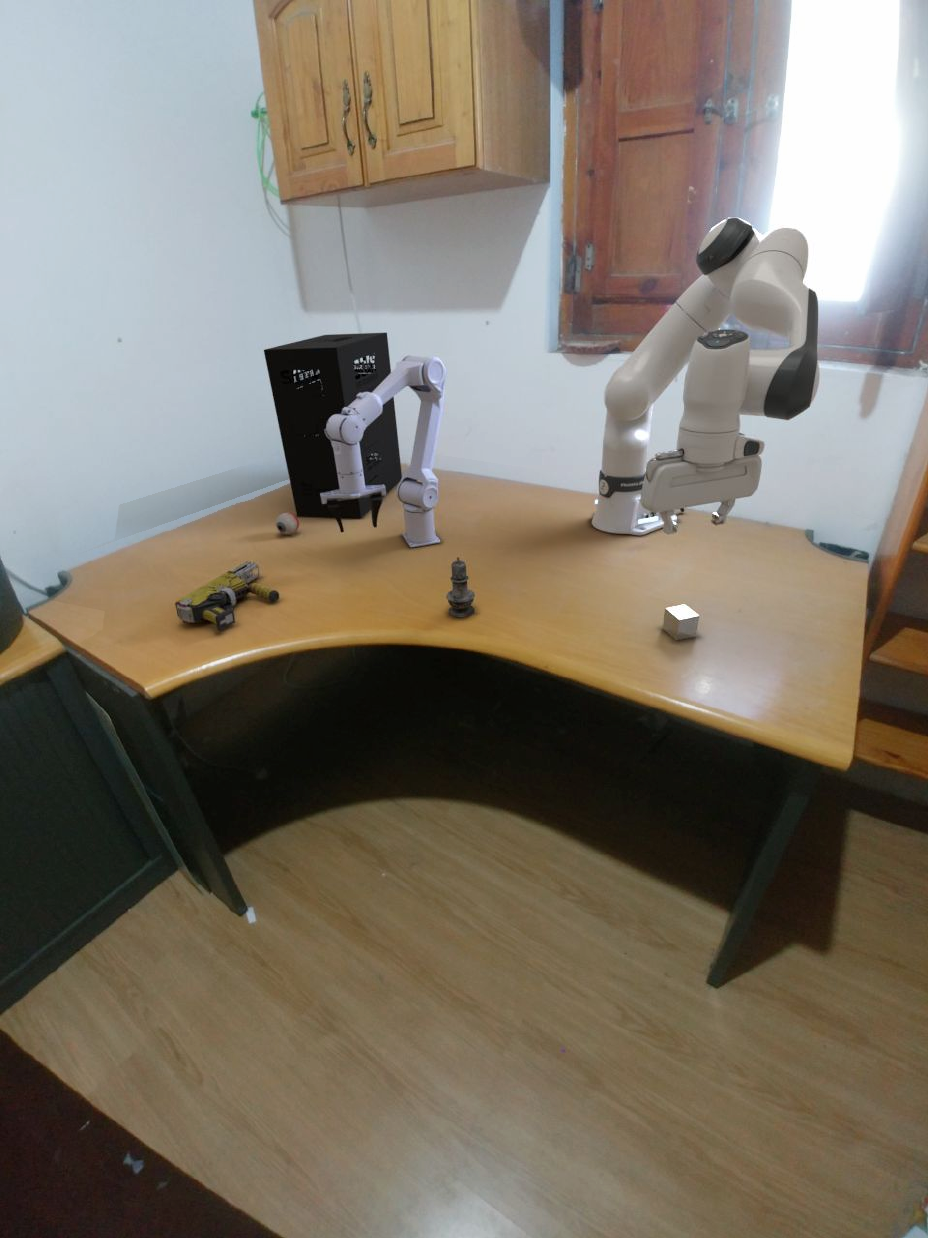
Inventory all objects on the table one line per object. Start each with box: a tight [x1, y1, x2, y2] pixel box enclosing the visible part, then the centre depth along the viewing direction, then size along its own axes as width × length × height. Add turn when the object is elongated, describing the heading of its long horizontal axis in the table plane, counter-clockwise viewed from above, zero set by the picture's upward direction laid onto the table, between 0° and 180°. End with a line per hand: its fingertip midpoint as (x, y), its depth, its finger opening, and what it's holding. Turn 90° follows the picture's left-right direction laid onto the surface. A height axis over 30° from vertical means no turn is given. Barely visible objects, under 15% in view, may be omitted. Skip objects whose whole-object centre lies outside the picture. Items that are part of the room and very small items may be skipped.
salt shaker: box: [445, 556, 476, 618], centre depth 120 cm, size 6×6×12 cm
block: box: [662, 604, 700, 642], centre depth 111 cm, size 4×5×4 cm
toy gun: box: [174, 560, 280, 631], centre depth 130 cm, size 5×24×15 cm
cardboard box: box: [263, 332, 403, 519], centre depth 180 cm, size 38×20×45 cm, turn 167°
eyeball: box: [275, 511, 300, 536], centre depth 163 cm, size 6×6×6 cm
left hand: (358, 528), depth 141 cm, fingers open, 7 cm apart
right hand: (694, 528), depth 101 cm, fingers open, 8 cm apart
